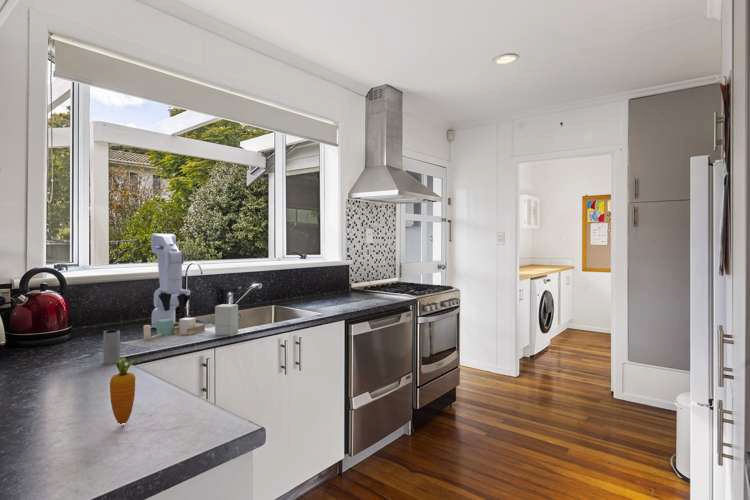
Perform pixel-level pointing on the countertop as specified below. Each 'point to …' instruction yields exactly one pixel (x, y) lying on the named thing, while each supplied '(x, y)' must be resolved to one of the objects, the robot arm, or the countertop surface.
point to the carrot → (122, 391)
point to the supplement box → (226, 319)
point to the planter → (111, 346)
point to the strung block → (159, 329)
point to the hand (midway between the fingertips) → (174, 311)
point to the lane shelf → (189, 329)
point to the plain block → (186, 324)
